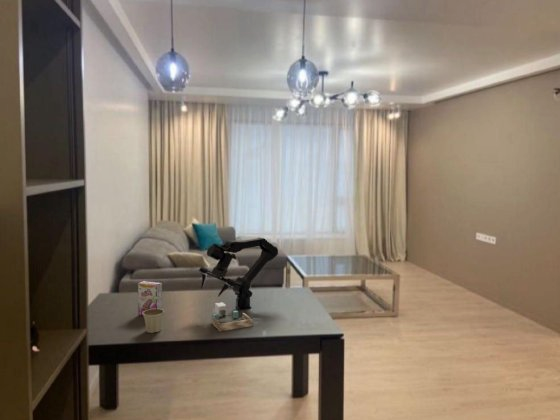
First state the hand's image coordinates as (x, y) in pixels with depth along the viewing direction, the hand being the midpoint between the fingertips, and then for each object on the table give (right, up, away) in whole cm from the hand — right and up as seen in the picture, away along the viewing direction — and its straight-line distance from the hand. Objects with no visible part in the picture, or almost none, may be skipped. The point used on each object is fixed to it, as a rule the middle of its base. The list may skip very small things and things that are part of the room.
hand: (209, 292), depth 213 cm
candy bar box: (-29, -11, +1) cm, 32 cm away
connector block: (+5, -11, +3) cm, 13 cm away
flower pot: (-22, -13, -20) cm, 32 cm away
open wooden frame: (+12, -12, -13) cm, 21 cm away
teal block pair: (+8, -12, -5) cm, 15 cm away
